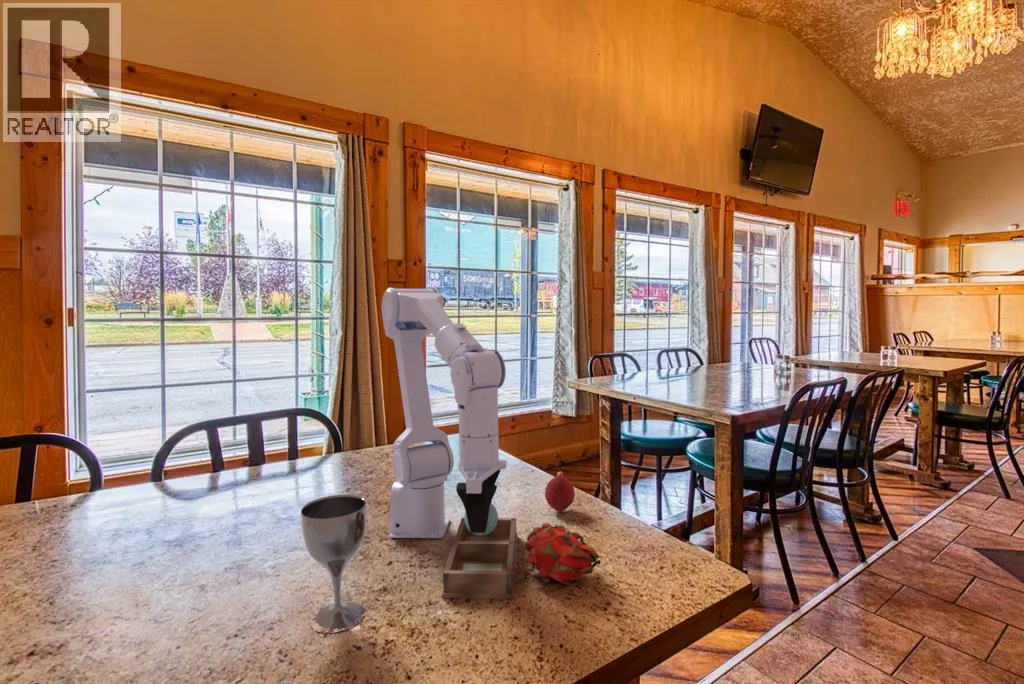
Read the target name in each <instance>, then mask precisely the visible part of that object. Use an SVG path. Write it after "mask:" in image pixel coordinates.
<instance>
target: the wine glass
mask: <svg viewBox="0 0 1024 684" xmlns="http://www.w3.org/2000/svg"><path fill="white" fill-rule="evenodd" d="M366 507H367V506H366V500H365V499H364V497H362V496H359V495H356V494H334V495H328V496H323V497H320V498H317V499H314V500H312V501H309V502H307V503H306V504H304V506H302V508H301V510H300V521H301V522H300V523H301V532H302V535H303V541H304V543H305V547H306V550H307V552H308V554H309V556H311V558H312V559H313V560H314V561H315V562H316V563H317V564H319V565H321V566H322V567H323V568H324V569H325V570H326V571H327V572H328V574H329V575H330V578H331V582H332V587H333V595H334V596H333V597H334V602H335V603H332V602H331V603H332V604H329V603H328V604H329V605H327V604H326V605H327V606H325V605H324V606H325V607H323V606H322V607H323V608H322V609H321V610H320V611H319V612H318V614H317V617H316V618H315V619H316V623H318V624H319V626H320V627H321V626H322V627H323V628H324V627H325V628H327V629H328V628H329V629H331V630H332V629H334V628H335V629H336V628H338V629H342V628H344V629H348V628H350V627H352V626H353V628H354V627H356V626H357V625H356V623H358V622H359V620H361V619H362V617H363V616H362V615H363V614H364V612H365V608H366V607H365V608H364V606H365V605H364V604H363V605H364V606H363V605H361V604H362V603H361V602H360V603H358V602H359V601H357V602H354V601H355V600H353V601H342V599H341V590H342V589H341V588H342V579H343V573H344V571H345V569H346V567H347V566H348V564H349V562H351V561H352V559H353V558H354V556H356V554H357V553H358V552H359V550H360V548H361V547H362V544H363V542H364V541H363V540H364V536H365V532H366V523H367V508H366ZM355 625H356V626H355ZM348 630H349V629H348Z"/></svg>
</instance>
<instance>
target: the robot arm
mask: <svg viewBox="0 0 1024 684" xmlns="http://www.w3.org/2000/svg"><path fill="white" fill-rule="evenodd" d="M381 313H382V322H383V329H384V331H385V332H384V333H385V336H386V337H388V338H389V339H391V340H393V344H394V349H395V350H394V351H395V357H396V362H397V370H398V377H399V384H400V385H399V386H400V392H401V399H402V400H401V401H402V407H403V414H404V415H403V416H404V421H405V427H406V428H405V430H404V431H403V432H402V433H401V434H400V435H399V436H398V437H397V438H396V439H395V441H394V442H393V444H392V450H393V451H392V453H393V457H392V469H393V473H394V477H395V479H396V481H395V482H393V484H392V487H391V489H390V496H389V510H390V511H389V513H390V517H389V518H390V534H389V538H391V539H392V538H393V539H443V538H444V536H445V534H446V531H447V529H448V526H449V523H450V521H451V517H449V516H446V515H445V513H446V512H445V511H446V510H445V508H446V507H445V506H446V505H445V482H446V481H448V476H450V475H451V474H452V472H453V469H454V466H455V465H454V464H455V458H454V453H453V450H452V448H451V446H450V442H449V438H448V435H447V433H446V432H444V431H442V430H441V429H440V428H438V427H436V426H435V425H434V421H433V413H432V406H431V399H430V393H429V387H428V386H429V385H428V379H427V372H426V365H425V359H424V358H425V357H424V350H423V345H422V344H423V340H424V338H426V337H429V336H430V335H431V334H432V336H434V337H435V338H434V347H435V349H436V351H437V352H438V354H439V356H441V357H442V359H443V360H444V361H445V364H447V366H448V367H449V369H450V370H449V372H450V374H449V375H450V379H451V384H452V386H453V392H454V399H455V403H457V404H458V430H459V431H458V436H459V439H458V441H459V444H458V445H459V462H458V471H459V472H460V473H461V475H462V476H463V478H464V479H465V482H458V483H456V490H455V491H456V493H457V495H458V497H459V499H460V500H461V502H462V505H463V507H464V511H466V515H467V519H468V524H469V528H470V531H471V533H485V531H486V528H487V523H488V515H489V508H490V504H491V503H493V501H492V500H493V498H494V496H495V494H496V492H497V488H498V485H496V481H497V479H498V478H499V475H500V474H501V470H505V469H507V466H508V464H507V463H508V461H506V460H501V459H499V457H500V455H499V453H500V451H499V396H498V395H499V393H498V391H499V390H498V389H500V388H501V387H503V385H504V383H505V380H506V375H507V374H506V371H507V370H506V365H505V364H506V363H505V361H504V359H503V356H502V355H501V353H500V351H499V350H498V349H493V348H491V349H490V348H488V347H486V348H484V347H483V346H482V345H481V343H479V341H478V340H477V339H476V338H475V337H474V336H473V334H472V333H471V332H470V331H469V330H468V329H467V327H466V326H465V324H463V323H457V322H455V323H453V321H452V320H451V318H450V316H449V314H448V313H447V312H446V310H445V308H444V297H443V295H442V294H441V292H440V291H439V289H438V288H436V287H431V288H395V287H388V288H387V289H386V291H384V293H383V297H382V302H381ZM427 442H429V444H423V445H417V446H413V447H410V446H412V445H415V444H420V443H427Z"/></svg>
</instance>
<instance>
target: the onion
mask: <svg viewBox="0 0 1024 684" xmlns="http://www.w3.org/2000/svg"><path fill="white" fill-rule="evenodd" d="M544 491H545V492H544V498H545V500H546V502H547V504H548V506H549V507H551V508H552V509H553V510H555V511H556V512H557V513H562V512H564V511H565V510H566V509H568V508H569V507H570V506H572V504H573V502H574V500H575V494H576V493H575V488H574V486H573V484H572V482H571V481H570V480H569V479H568V478H566V477H565V476H564V473H563V472H562V471H558V472H557V473H556V475H555V476H554V477H553V478H551V479H550V480H549V481H548V483H547V485H546V487H545V490H544Z"/></svg>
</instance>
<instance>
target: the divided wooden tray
mask: <svg viewBox="0 0 1024 684" xmlns="http://www.w3.org/2000/svg"><path fill="white" fill-rule="evenodd" d="M518 535H519V533H518V532H517V518H515V517H513V518H512V517H507V518H506V517H498V522H497V525H496V527H495V528H494V530H493V531H492V532H490V533H489V534H487V535H482V536H480V535H475V534H473V533H471V532H470V531H469V530H468V529H467V527H466V525H465V521H464V517H461V519H460V522H459V525H458V528H457V531H456V533H455V538H454V540H453V543H452V545H451V550H450V552H449V555H448V558H447V561H446V564H445V567H444V570H443V573H442V577H443V579H442V581H443V582H442V584H443V589H442V592H441V598H442V599H493V600H494V599H497V600H498V599H499V600H501V599H504V600H505V599H506V600H508V599H509V600H510V599H511V600H512V599H514V595H515V594H514V593H515V591H514V590H515V581H516V579H515V578H516V565H517V563H516V562H517V552H518V551H517V549H518Z"/></svg>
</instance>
